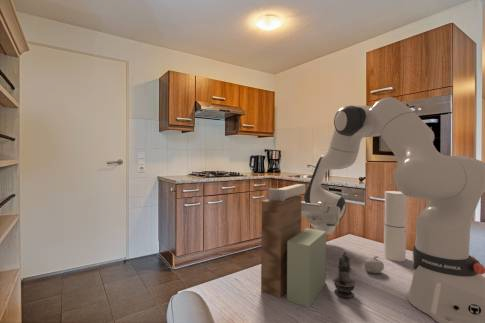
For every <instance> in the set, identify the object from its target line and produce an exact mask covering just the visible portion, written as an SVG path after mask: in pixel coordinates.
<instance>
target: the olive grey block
mask: <svg viewBox="0 0 485 323" xmlns="http://www.w3.org/2000/svg"><path fill="white" fill-rule="evenodd" d="M326 266H327V234H326V231H321V230H316V229H315V228H309V227H306V228H305V229H303V230H301V232H300V233H299V234H297V235H296V236H294V237H293V238H291V239H290V240H288V241H287V291H286V301H287V302H288V301H289V302H291V303H295V304H297V305H300V306H303V307H306V308H310V306H311V305H312V303H313V302H314V301H315V299H316V298H317V296H318V295H319V293H320V292H321V291H322V290H323V288H324V286H325V285H326V281H327V278H326V276H327V269H326V268H327V267H326Z"/></svg>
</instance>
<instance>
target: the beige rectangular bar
mask: <svg viewBox="0 0 485 323" xmlns="http://www.w3.org/2000/svg"><path fill="white" fill-rule="evenodd" d="M305 192H306V184H305V183H304V184H302V183H297V184H291V185H288V186H284V187H280V188H268V198H267V199H268V200H276V201H285V199H288V198H291V197H294V196H301V195H302V194H305Z"/></svg>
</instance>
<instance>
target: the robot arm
mask: <svg viewBox="0 0 485 323" xmlns="http://www.w3.org/2000/svg"><path fill="white" fill-rule="evenodd" d="M333 125H334V129H333V133H332V136H331V139H330V144H329V147H328V150H327V152H326V153H325V154H322V155H320V157H319V159H318V160H317V162H316V165H315V167H314V170H313V173H312V175H311V178H310V180H309V182H308V183H309V184H308V186H307V188H306V189H305V193H303V194H304V195H303V200H304V201H303V202H302V201H301V217H305V218H306V220H307V222H308V223H309V224H310V225H311V226H312V227H313V229H315V230H321V231H326V235H331V234H332V233H334V231H335V229H336V227H338V225H339V224H340V221H341V220H342V218H343V217H344V215H345V214H346V210H347V203H346V200H345V197H344V196H342V195H339V194H338V193H337V194H336V193H335V192H331V191H329V190H326V189H324V188H323V187H322V182H323V180H324V178H325V176H326V173H327V172H328V171H330V170H342V169H346V168H349V167H351V166H353V165H354V164H355V163H356V160H357V158H358V156H359V150H360V146H361V142H362V139H364V138H374V137H377V138H378V137H379V138H382V140H383V141H384V142H385V144H386V145H387V146H388V147H389V149H390V151H391V152H392V153H393V155H394V157H395V158H396V163H397V166H396V167H395V171H394V173H393V174H394V175H393V176H394V177H393V178H394V184H395V186H396V188H397V190H398V191H399V192H401V193H403V194H404V195H406V196H407V197H409V198H414V199H418V200H419V199H420V200H424V201H425V200H427V201H428V202H427V205H425V206H426V207H425V208H424V209H423V211H421V212H420V214H418V215H417V217H416V220H415V243H414V244H415V245H414V246H413V249H412V267H413V274H412V279H411V284H410V287H409V289H408V292H407V295H406V299H407V300H408V302H409V303H410V305H411V304H412V306H413V307H415V308H417V309H418V310H420V311H421V312H423V313H425V314H427V315H428V316H430V317H431V318H432V319H433V320H434V321H436V322H437V323H485V276H484V275H485V266H484V265H483V264H482V263H481V262H480V261H479V260H478V259H476V257H475V256H471V255H470V243H471V242H470V238H471V227H472V222H473V217H474V215H475V212H476V209H477V207H478V205H479V201H480V200H481V197H482V196H483V195H484V193H485V162H483V161H482V160H479V159H476V158H473V157H470V156H466V155H445V154H443V153H441V152H439V151H438V150H437V148H436V146H435V145H434V141H435V133H434V131H433V130H432V129H431V128H430V127H429V126H428V125H427V124H426V122H425V121H423V119H421V117H420V116H418V115H417V113H415V112H414V110H412V109H411V108H410V107H409V106H408V105H407V104H405V103H404V102H402V101H400V100H399V99H398V98H396V97H390V96H389V97H384V98H381V99H379V100H378V101H376V102H375V103H374V104H373V105H348V106H343V107H340V108H339V109H338V110H337V112H336V113H335V114H334V118H333Z"/></svg>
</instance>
